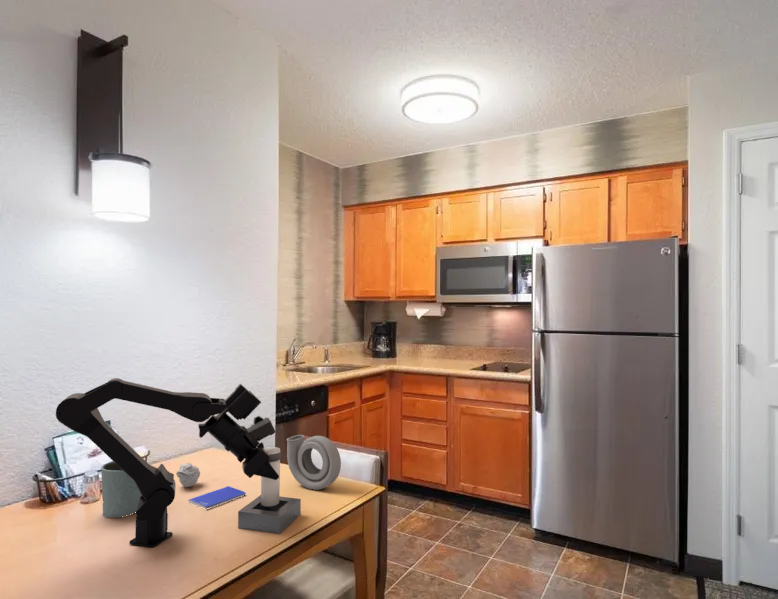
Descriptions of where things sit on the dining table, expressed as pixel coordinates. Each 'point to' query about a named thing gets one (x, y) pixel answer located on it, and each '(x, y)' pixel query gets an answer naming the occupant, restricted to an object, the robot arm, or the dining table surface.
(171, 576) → the dining table surface
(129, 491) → the grey green pot
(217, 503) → the hard drive
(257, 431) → the robot arm
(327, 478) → the turbocharger housing
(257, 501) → the frame
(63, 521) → the dining table surface
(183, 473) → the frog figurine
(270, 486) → the white rounded cylinder
